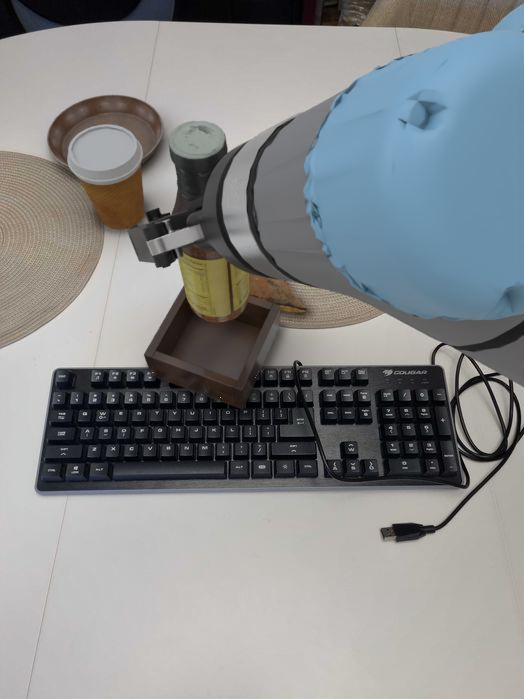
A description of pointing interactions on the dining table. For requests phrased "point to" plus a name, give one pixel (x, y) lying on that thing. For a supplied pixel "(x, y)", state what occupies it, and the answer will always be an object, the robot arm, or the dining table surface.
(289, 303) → the quesadilla slice
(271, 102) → the dining table surface
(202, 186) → the sauce bottle
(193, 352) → the box
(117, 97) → the plant saucer
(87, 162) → the disposable coffee cup
